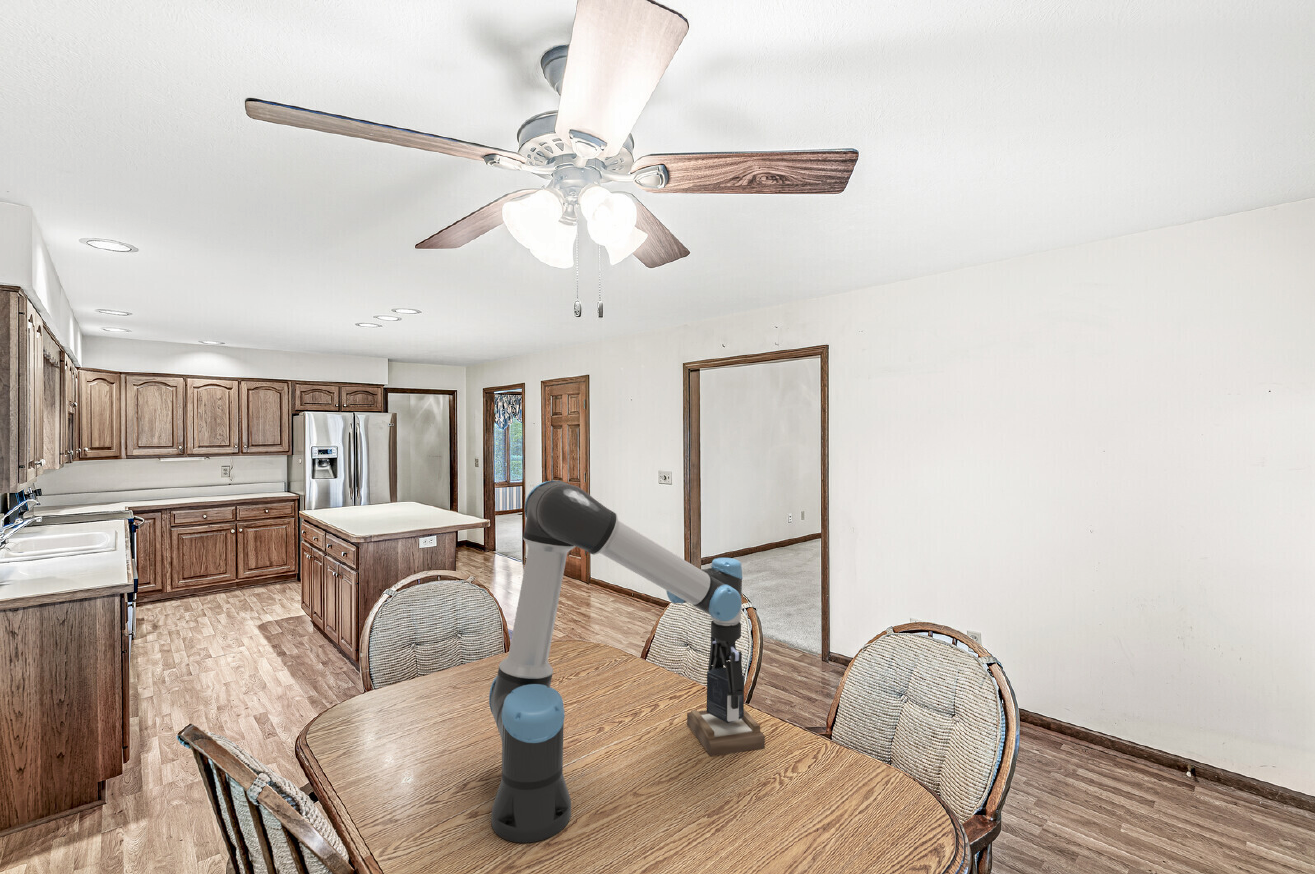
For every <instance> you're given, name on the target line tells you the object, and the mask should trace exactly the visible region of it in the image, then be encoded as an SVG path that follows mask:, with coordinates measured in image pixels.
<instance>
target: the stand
mask: <svg viewBox="0 0 1315 874" xmlns="http://www.w3.org/2000/svg"><path fill="white" fill-rule="evenodd" d="M686 725H687V726H688V728H689V729H690V730H691V732H692V733H693V735H694V736H695V737H696V738H697V740H698V741H699V743H700V744H701V746H703V748H704V750H705V751H706V752H707V754H708V755H709V756H710V757H715V756H720V755H721V756H722V755H729V754H734V753H740V752H747V751H754V750H760V749H761V750H762V749H765V748H766V747H765V741H766V740H765V739H766V736H765V734H764V733H763V732H762V731H761V724H759V723H758V722H757V721H756V720H755V719H754V718H753V716H751V714H749V713H748V712H747V711H746V710H745V709H744V717H743V718H741V719H739V720H737V721H734V722H731V723H729V724H728V723H726V722H725V721H723V720H721V719H719V718H717V717H715V716H713V715H711V714H709V713H707V709H706V710H697V709H690V712H687V713H686Z"/></svg>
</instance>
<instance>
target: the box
mask: <svg viewBox="0 0 1315 874" xmlns="http://www.w3.org/2000/svg"><path fill="white" fill-rule="evenodd" d="M742 675H743V674H742ZM743 687H744V688H745V675H743ZM727 693H729V687H728V681H727V675H726V668H725V666H723V667H719V668H716V669H713V670H707V671H706V710H707V713H709V714H711V715H713V716H715V717H717V718H719V719H721V720H723V721H725V722H726V723H728V724H729V723H731V722H734V721H730V722H728V721H727ZM744 704H745V694H744V695H739V719H741V718H743V717H744V710H745V709H744V707H745V705H744Z"/></svg>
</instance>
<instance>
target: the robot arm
mask: <svg viewBox="0 0 1315 874" xmlns="http://www.w3.org/2000/svg"><path fill="white" fill-rule="evenodd" d="M524 514H525V519H526V520H525V524H524V530H523V536H522V539H523V540H524V542H525V544H526V545H527V547H528V548H527V555H526V558H525V559H526V560H525V564H524V568H523V569H524V570H523V575H522V580H521V585H520V591H519V598H518V602H517V608H516V612H515V618H514V623H513V629H512V634H511V640H510V644H509V645H510V646H509V649H508V650H509V651H508V654H507V657H505V658H504V659H503V660H501V661H500V663H499V665H498V671H497V674H496V676H495V678H494V679H493V681H492V683H491V685H490V688H489V695H488V697H489V698H488V704H489V709H490V712H491V715H492V717H493V719H494V721H495V722H494V723H495V725H496V728H497V730H498V733H499V736H500V740H501V780H500V782H499V786H498V789H497V792H496V795H495V797H494V801H493V804H492V808H491V821H490V823H491V827H492V830H493V831H494V832H495V834H496V835H498V836H499V837H500V838H502V839H504V840H506V841H510V842H514V843H523V844H525V843H534V842H540V841H543V840H546V839H549V838H552V837H553V836H555V835H556V834H558V833H559V832H561V831H563V829H564V828H565V827H566V826H567V825H568V823H569V822H570V819H571V817H572V816H571V815H572V800H571V796H570V793H569V790H568V787H567V784H566V779H565V777H564V772H563V771H564V770H563V768H564V767H563V766H564V729H565V728H564V722H565V712H566V711H565V708H564V701H563V700H564V699H563V698H562V695H561V694H560V693H559V691H558V690H556V689H555V688H553V687H552V686H551V684H552V679H553V675H554V674H553V673H554V668H553V667H552V666H551V664H550V662H549V656H550V650H551V645H552V641H553V640H552V638H553V634H554V629H555V622H556V618H557V611H558V605H559V600H560V596H561V589H562V586H563V585H562V584H563V579H564V574H565V570H566V569H565V568H566V563H567V558H568V557H567V556H568V553H570V551H571V550H574V549H575V548H579V549H581V550H583V551H585V552H587V553H589V554H591V555H593V556H595V555H598V554H601V555H603V556H604V557H606V558H608V559H610V560H612V561H613V562H615V563H616V564H618V565H620V566H622V567H624V568H626V569H627V570H630V571H631V572H633V573H635V574H637V575H638V576H639V577H640V576H641V577H642V578H644V579H645V580H647V581H649V582H651V583H652V584H655V585H656V586H658V587H660V588H662V589H663V590H664V591H666V595H667V598H668V599H669V601H670V602H671V603H673V604H683V605H684V604H686V603H688V604H690V605H692V606H694V607H695V608H697V609H698V610H700V611H702V612H704V613H705V614H707V615H709V616H710V620H711V622H710V648H709V656H708V657H709V658H708V664H707V671H709V670H713V669H716V668H719V667H724V668H726V675H727V681H728V687H729V693H727V721H728V722H730V721H737V720H739V695H744V696H745V686H744V687H743V665H742V657H743V654H742V651H737V646H736V642H737V640H740V638H741V637H742V623H741V621H742V610H743V607H742V603H743V602H742V591H743V569H742V563H741V561H739V560H738V559H737V558H731V557H717V558H714V559H713V560H712V561H711V565H710V567H709V568H698V567H696V566H695V565H693V564H692V563H690V562H689V561H687V560H685V559H683V558H681V557H680V556H678V555H677V554H675V553H673V552H672V551H670V550H669V549H666V548H665V547H663V546H661V544H658V543H656V542H655V541H653V540H651V539H650V538H648V537H647V536H645V535H643V534H642V533H640V532H638V531H636V530H634V529H633V528H631V527H629V526H628V525H626V524H624V523H623V522H621V521H620V520H619V518H618V517H619V516H618V515H617V513H616V512H614V511H612V510H611V509H609V508H607V506H605V505H604V504H602V503H600V501H598V500H597V499H595V498H594V497H593V496H592V495H591V494H589V493H588V492H586V491H585V490H583V489H582V488H581V487H579V486H577V485H574V484H570V483H567V482H566V481H565V482H564V481H561V480H548V481H547V480H546V481H544V482H541V483H538V484H537V485H536V486H535V487H533V488H532V489H531V490H530V492H529V493H528V494H527V496H526V500H525V502H524Z"/></svg>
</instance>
